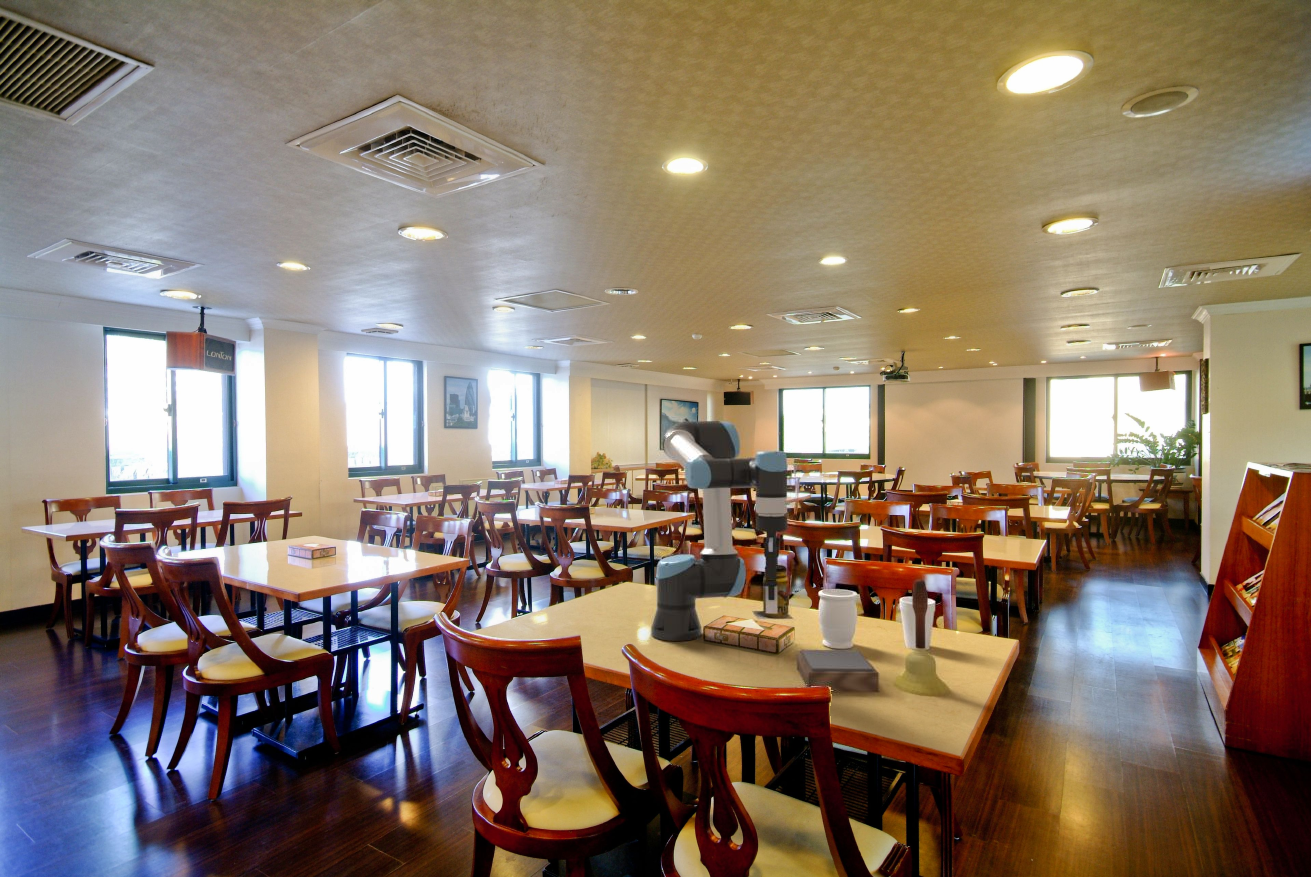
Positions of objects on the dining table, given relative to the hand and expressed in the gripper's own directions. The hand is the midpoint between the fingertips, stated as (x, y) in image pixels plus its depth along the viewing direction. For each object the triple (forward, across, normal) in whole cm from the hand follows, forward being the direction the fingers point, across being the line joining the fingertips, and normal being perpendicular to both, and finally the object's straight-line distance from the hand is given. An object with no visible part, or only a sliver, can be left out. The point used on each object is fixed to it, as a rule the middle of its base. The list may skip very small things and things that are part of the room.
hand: (772, 609), depth 164 cm
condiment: (+2, 0, 0) cm, 2 cm away
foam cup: (+17, +35, -39) cm, 55 cm away
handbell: (+18, +3, -34) cm, 39 cm away
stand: (+17, +4, -15) cm, 23 cm away
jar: (+17, +32, -17) cm, 41 cm away
